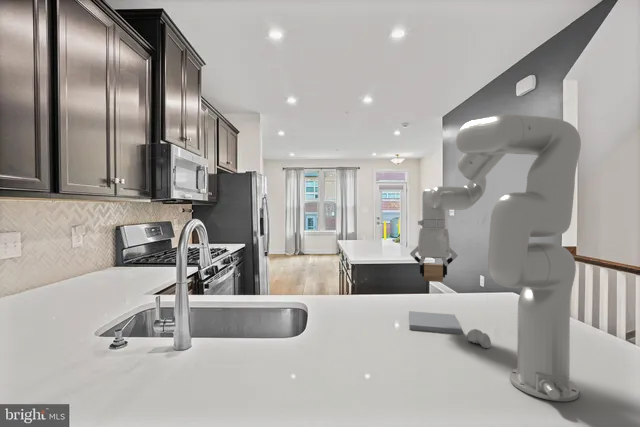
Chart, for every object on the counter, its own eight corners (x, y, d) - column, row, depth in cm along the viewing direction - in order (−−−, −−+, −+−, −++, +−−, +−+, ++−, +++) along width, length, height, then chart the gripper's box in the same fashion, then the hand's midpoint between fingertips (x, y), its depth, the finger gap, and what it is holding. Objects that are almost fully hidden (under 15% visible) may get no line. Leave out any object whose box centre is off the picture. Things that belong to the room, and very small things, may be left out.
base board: (461, 334, 105) (461, 329, 105) (409, 329, 109) (409, 324, 109) (454, 318, 121) (454, 314, 121) (409, 315, 125) (409, 311, 125)
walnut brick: (442, 282, 111) (443, 267, 111) (424, 280, 113) (424, 266, 113) (442, 278, 117) (442, 264, 117) (424, 277, 119) (424, 263, 119)
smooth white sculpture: (465, 343, 101) (481, 338, 101) (478, 353, 93) (495, 348, 93) (461, 329, 101) (477, 324, 101) (473, 338, 93) (490, 333, 93)
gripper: (407, 224, 113) (407, 277, 114) (462, 225, 109) (461, 280, 109) (407, 223, 121) (407, 273, 121) (458, 224, 116) (458, 275, 116)
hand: (433, 276), depth 115 cm, fingers closed on walnut brick, 6 cm apart
